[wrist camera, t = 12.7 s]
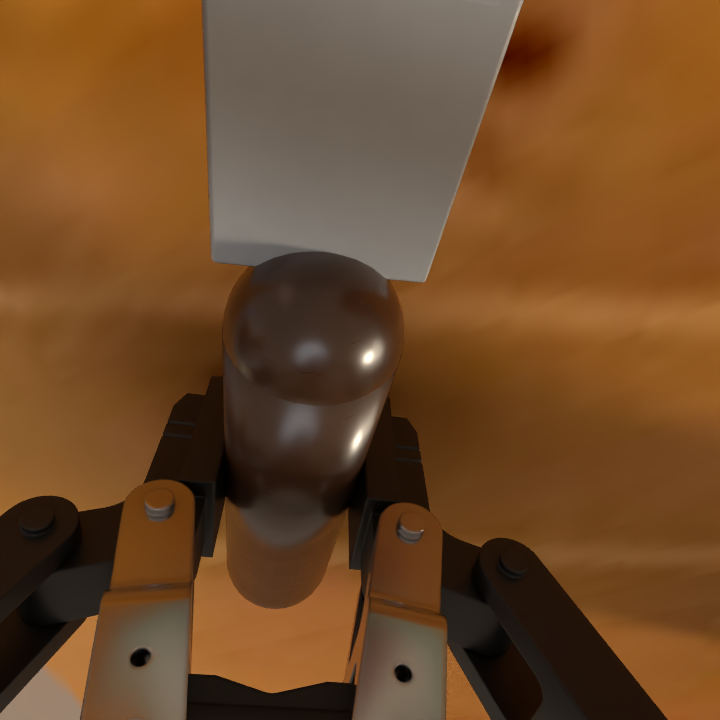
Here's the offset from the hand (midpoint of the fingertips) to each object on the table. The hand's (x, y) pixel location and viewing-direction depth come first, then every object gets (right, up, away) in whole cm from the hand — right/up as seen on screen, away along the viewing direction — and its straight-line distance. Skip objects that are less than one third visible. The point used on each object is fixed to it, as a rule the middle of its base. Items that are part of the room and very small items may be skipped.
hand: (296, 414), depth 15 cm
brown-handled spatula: (+1, +2, -3) cm, 3 cm away
